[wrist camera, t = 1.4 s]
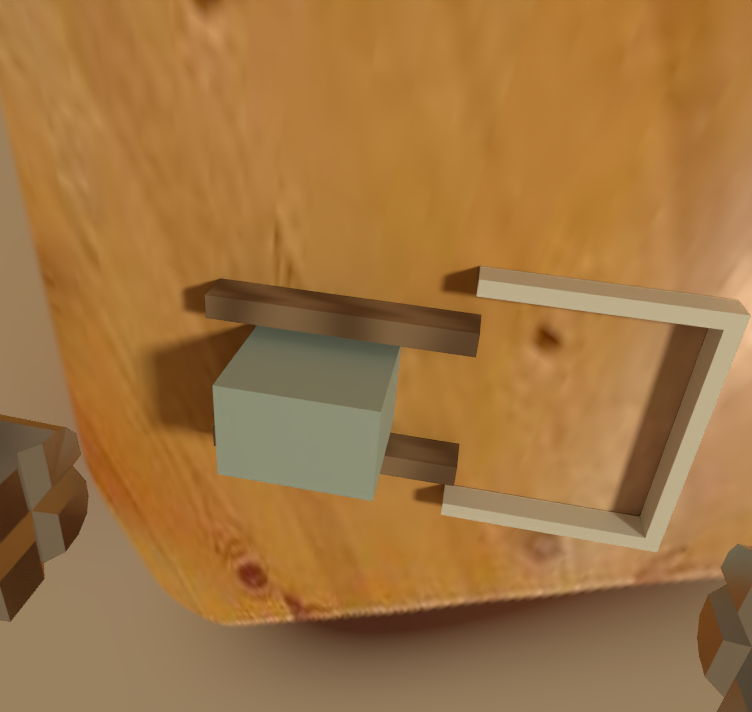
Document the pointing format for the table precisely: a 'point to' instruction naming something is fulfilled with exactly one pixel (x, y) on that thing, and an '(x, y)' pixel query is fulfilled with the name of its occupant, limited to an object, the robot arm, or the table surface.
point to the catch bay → (685, 436)
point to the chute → (361, 324)
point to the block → (306, 411)
